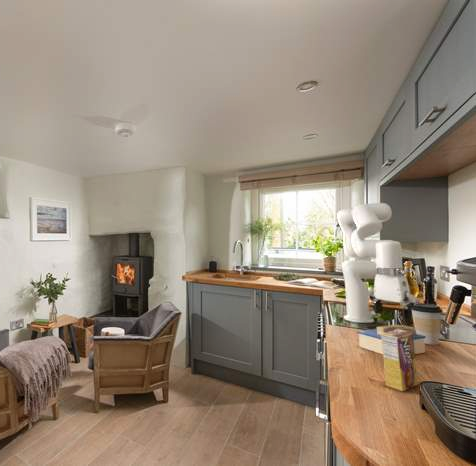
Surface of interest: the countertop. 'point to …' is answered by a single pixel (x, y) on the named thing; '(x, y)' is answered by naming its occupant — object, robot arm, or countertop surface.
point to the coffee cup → (427, 322)
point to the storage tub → (374, 341)
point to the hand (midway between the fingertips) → (392, 315)
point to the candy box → (399, 359)
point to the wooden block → (394, 328)
